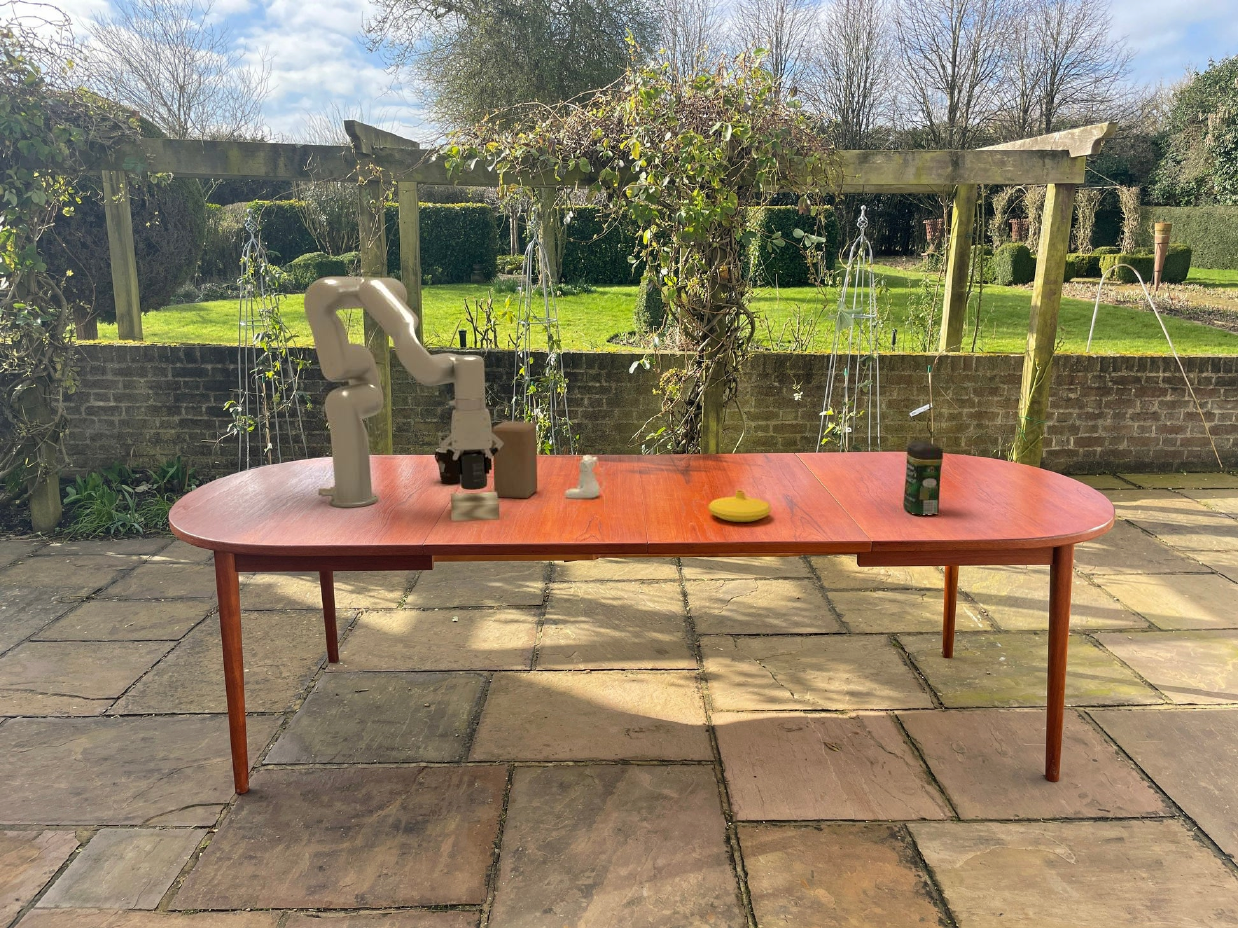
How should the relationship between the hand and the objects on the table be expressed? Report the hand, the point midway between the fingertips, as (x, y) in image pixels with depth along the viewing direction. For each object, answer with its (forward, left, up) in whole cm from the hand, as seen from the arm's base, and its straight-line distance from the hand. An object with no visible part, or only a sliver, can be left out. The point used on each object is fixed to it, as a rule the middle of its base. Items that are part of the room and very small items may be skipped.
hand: (473, 472), depth 220 cm
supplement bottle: (0, 0, -4) cm, 4 cm away
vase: (+66, -17, -11) cm, 69 cm away
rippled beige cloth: (0, 0, -11) cm, 11 cm away
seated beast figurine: (+31, +12, -11) cm, 35 cm away
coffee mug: (-6, +37, -11) cm, 39 cm away
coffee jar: (+114, -21, -11) cm, 116 cm away
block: (+12, +18, -11) cm, 24 cm away
